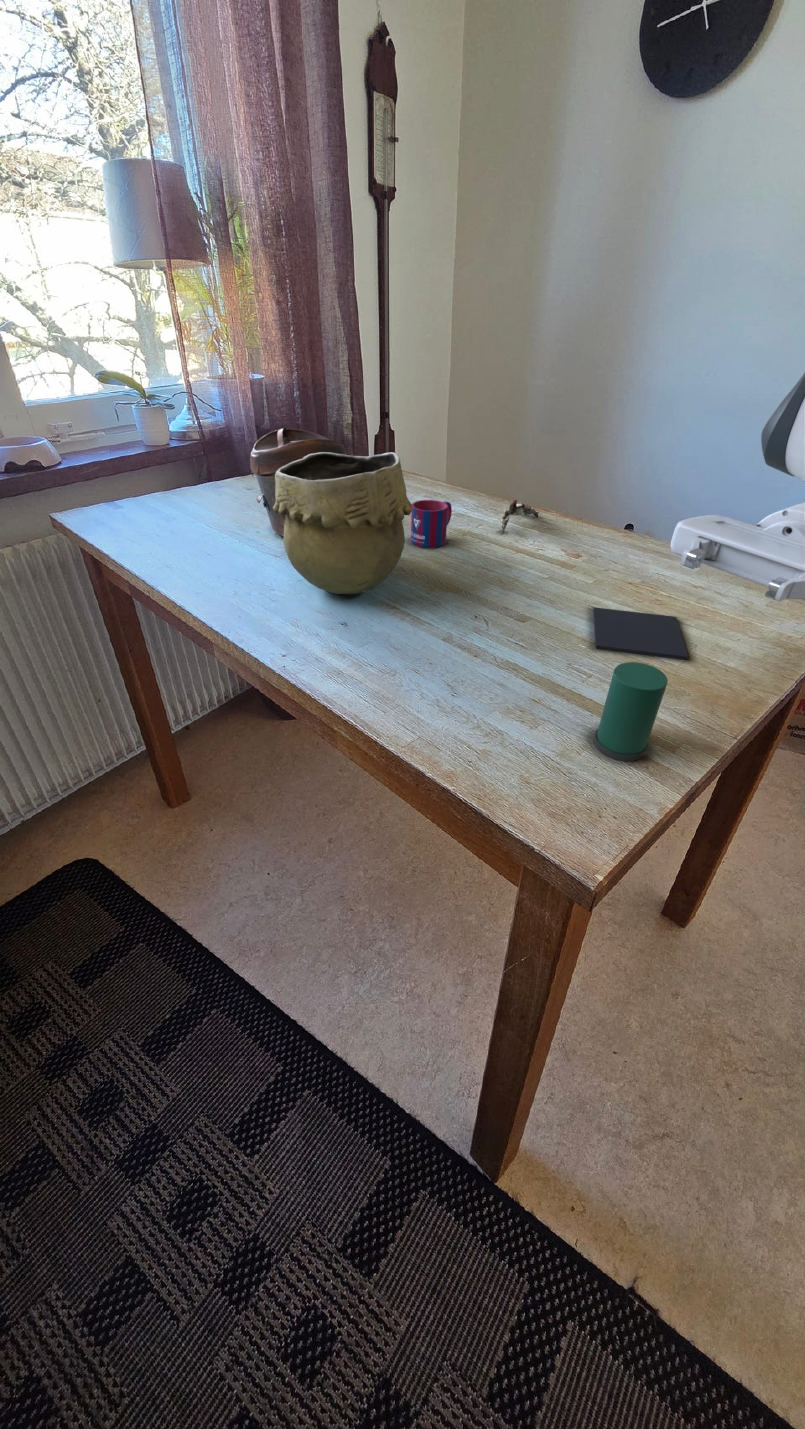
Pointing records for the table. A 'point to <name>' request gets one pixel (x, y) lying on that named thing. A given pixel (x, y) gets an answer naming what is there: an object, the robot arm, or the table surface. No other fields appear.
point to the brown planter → (284, 462)
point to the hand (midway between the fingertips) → (728, 575)
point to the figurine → (517, 512)
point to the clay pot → (343, 518)
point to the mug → (429, 523)
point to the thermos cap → (630, 711)
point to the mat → (638, 633)
